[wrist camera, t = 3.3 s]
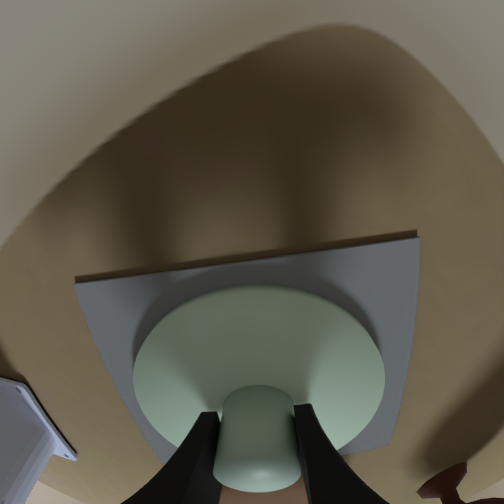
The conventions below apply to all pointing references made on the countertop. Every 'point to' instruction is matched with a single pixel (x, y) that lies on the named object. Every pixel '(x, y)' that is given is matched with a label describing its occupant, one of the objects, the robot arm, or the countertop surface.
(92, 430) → the countertop surface
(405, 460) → the countertop surface
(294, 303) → the lid
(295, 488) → the dish
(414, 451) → the countertop surface
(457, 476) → the ice cream bowl
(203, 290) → the placemat
